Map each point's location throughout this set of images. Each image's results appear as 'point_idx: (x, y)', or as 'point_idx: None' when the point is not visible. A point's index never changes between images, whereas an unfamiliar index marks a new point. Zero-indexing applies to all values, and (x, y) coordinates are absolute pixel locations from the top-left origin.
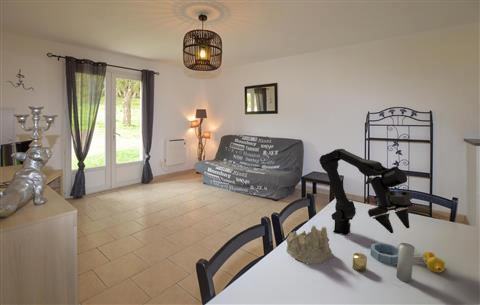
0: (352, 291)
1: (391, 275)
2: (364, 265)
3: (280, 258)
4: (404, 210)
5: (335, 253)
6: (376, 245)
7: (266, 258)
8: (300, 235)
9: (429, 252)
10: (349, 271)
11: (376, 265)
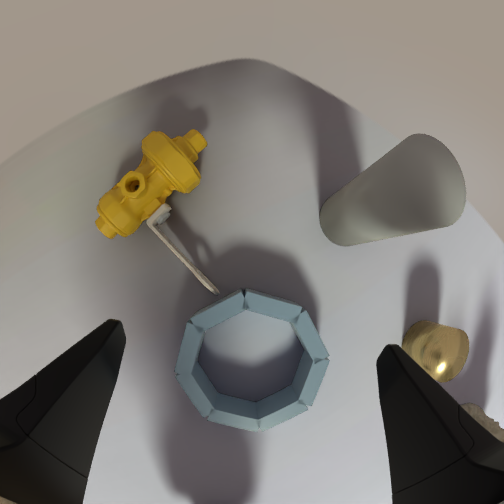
0: (496, 271)
1: (369, 256)
2: (442, 325)
3: None
4: (1, 481)
5: None
6: (247, 415)
7: None
8: None
9: (128, 194)
10: None
11: (355, 330)
